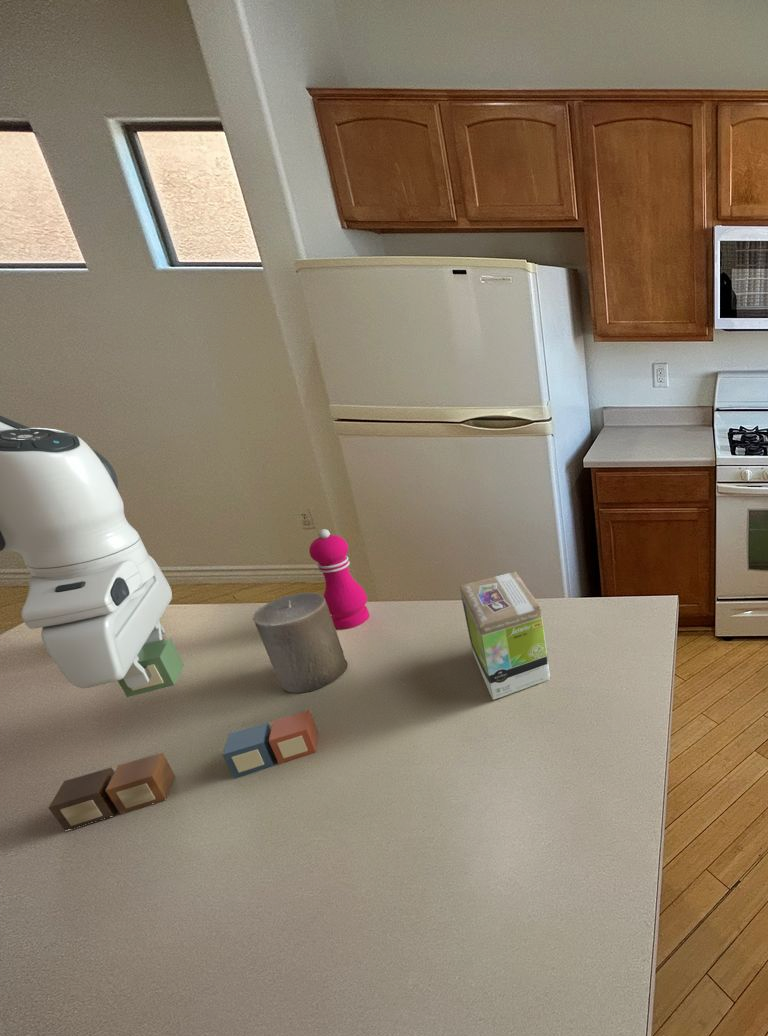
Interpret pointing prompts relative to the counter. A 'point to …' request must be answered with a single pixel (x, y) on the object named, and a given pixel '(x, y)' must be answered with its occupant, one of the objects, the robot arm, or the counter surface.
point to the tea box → (505, 633)
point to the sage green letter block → (157, 666)
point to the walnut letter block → (83, 800)
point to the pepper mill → (339, 581)
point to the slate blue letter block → (249, 750)
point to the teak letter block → (140, 783)
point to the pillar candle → (301, 641)
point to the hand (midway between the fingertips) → (149, 669)
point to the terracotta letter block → (293, 736)
